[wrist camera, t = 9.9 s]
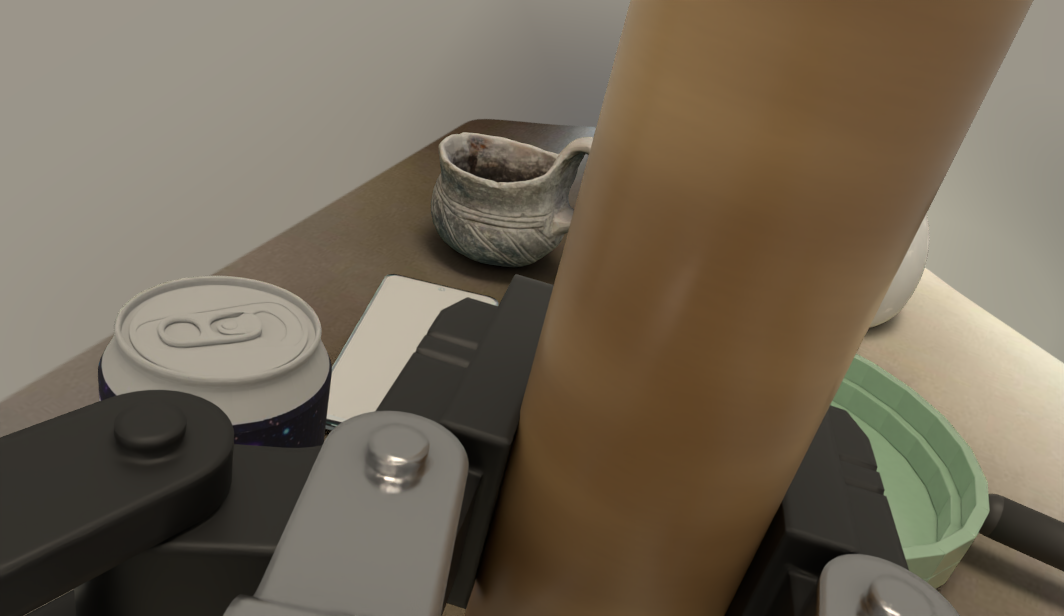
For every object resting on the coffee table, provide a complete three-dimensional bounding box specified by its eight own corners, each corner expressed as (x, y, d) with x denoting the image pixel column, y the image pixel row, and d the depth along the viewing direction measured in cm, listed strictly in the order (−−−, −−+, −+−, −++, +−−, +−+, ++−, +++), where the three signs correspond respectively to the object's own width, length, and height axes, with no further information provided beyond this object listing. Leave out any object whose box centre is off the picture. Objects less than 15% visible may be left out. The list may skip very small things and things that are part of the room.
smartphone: (302, 417, 35) (387, 271, 48) (301, 427, 35) (386, 279, 49) (457, 453, 35) (500, 298, 48) (454, 463, 36) (498, 306, 49)
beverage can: (323, 677, 26) (367, 371, 20) (126, 743, 23) (111, 405, 17) (275, 548, 30) (301, 262, 24) (102, 590, 27) (84, 274, 21)
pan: (513, 476, 36) (530, 414, 34) (647, 320, 52) (663, 273, 50) (954, 702, 30) (1000, 642, 29) (952, 449, 46) (982, 401, 45)
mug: (453, 210, 60) (477, 79, 56) (611, 262, 58) (650, 131, 54) (398, 256, 52) (422, 106, 47) (581, 318, 50) (624, 168, 45)
